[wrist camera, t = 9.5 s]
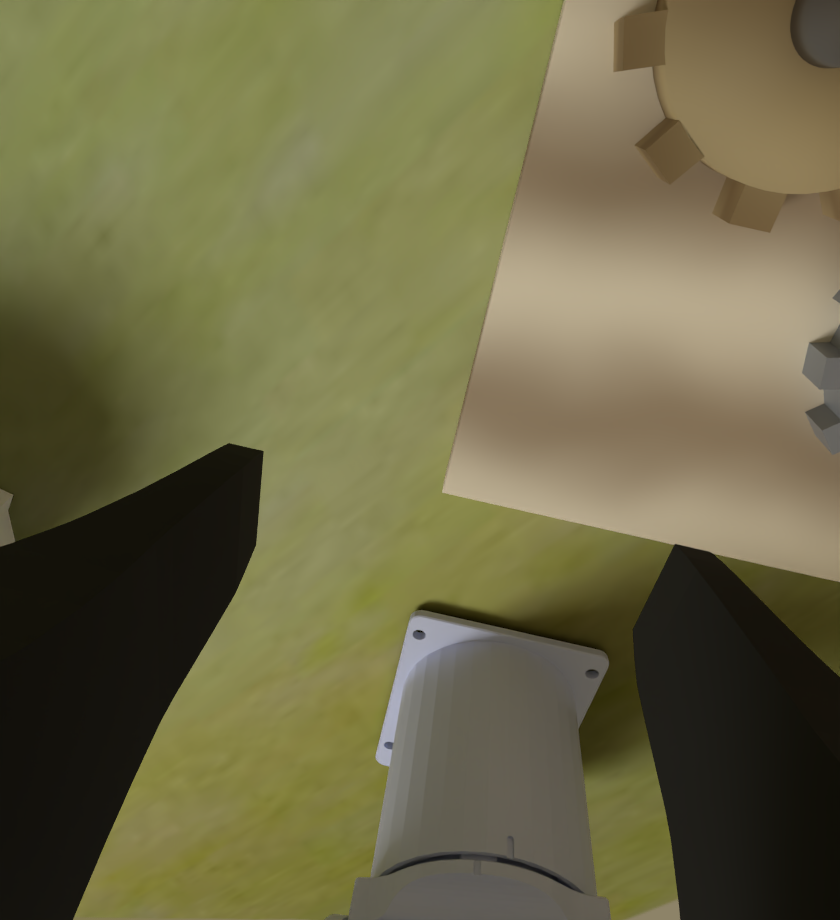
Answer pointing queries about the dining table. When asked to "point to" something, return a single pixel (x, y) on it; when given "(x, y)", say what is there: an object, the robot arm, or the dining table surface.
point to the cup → (5, 519)
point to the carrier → (670, 284)
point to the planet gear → (825, 388)
